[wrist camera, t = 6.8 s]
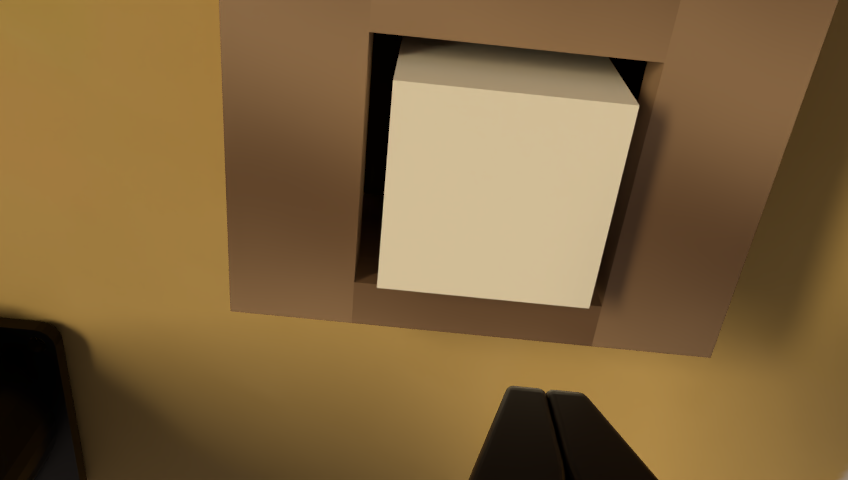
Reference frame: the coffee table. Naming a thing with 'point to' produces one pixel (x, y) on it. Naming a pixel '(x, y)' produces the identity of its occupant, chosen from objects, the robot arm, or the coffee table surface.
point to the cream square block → (501, 171)
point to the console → (638, 192)
